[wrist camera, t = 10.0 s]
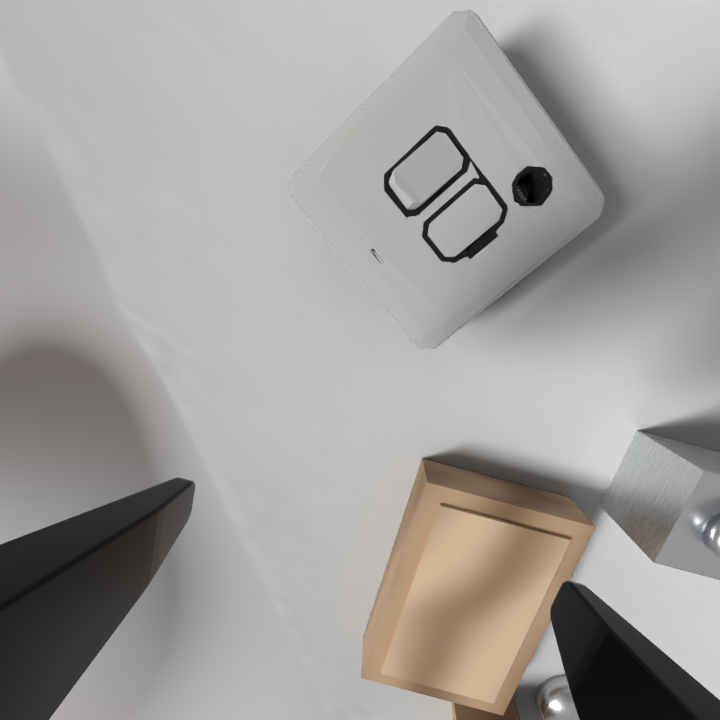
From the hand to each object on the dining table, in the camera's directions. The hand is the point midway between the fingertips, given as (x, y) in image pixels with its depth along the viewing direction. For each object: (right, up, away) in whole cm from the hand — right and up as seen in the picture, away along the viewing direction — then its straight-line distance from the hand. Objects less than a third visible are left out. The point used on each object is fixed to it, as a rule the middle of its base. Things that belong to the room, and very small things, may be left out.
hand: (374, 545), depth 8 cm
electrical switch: (+6, +15, +9) cm, 18 cm away
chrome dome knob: (+14, -19, +16) cm, 28 cm away
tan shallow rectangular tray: (+6, -9, +14) cm, 18 cm away
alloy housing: (+18, -3, +12) cm, 22 cm away
